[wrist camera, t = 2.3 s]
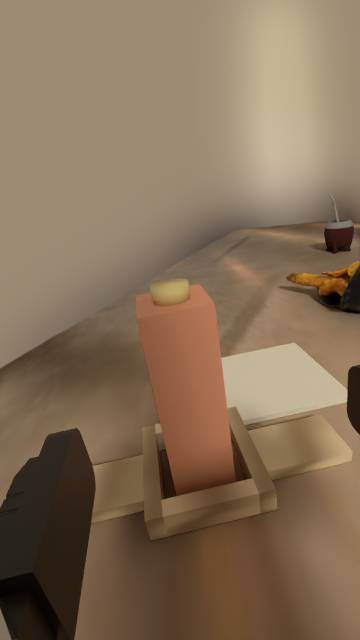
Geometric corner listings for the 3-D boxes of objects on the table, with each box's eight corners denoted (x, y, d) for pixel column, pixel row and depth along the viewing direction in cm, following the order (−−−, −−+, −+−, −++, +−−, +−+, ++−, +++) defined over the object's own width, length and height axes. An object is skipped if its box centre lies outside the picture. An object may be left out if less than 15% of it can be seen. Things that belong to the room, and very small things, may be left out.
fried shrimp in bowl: (390, 298, 39) (270, 251, 49) (368, 345, 48) (269, 296, 58) (422, 256, 42) (302, 219, 52) (396, 307, 50) (297, 267, 60)
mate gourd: (347, 254, 80) (350, 192, 74) (316, 253, 85) (317, 196, 79) (356, 247, 84) (360, 189, 79) (326, 247, 90) (328, 193, 84)
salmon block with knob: (178, 503, 23) (132, 302, 17) (171, 456, 27) (133, 282, 21) (236, 489, 23) (212, 286, 17) (221, 445, 27) (197, 270, 21)
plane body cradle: (44, 566, 20) (34, 547, 19) (71, 460, 28) (64, 444, 28) (372, 486, 22) (375, 465, 21) (307, 407, 30) (307, 390, 29)
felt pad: (234, 427, 29) (233, 422, 29) (207, 364, 40) (206, 361, 40) (353, 400, 30) (353, 395, 29) (294, 346, 41) (294, 342, 41)
